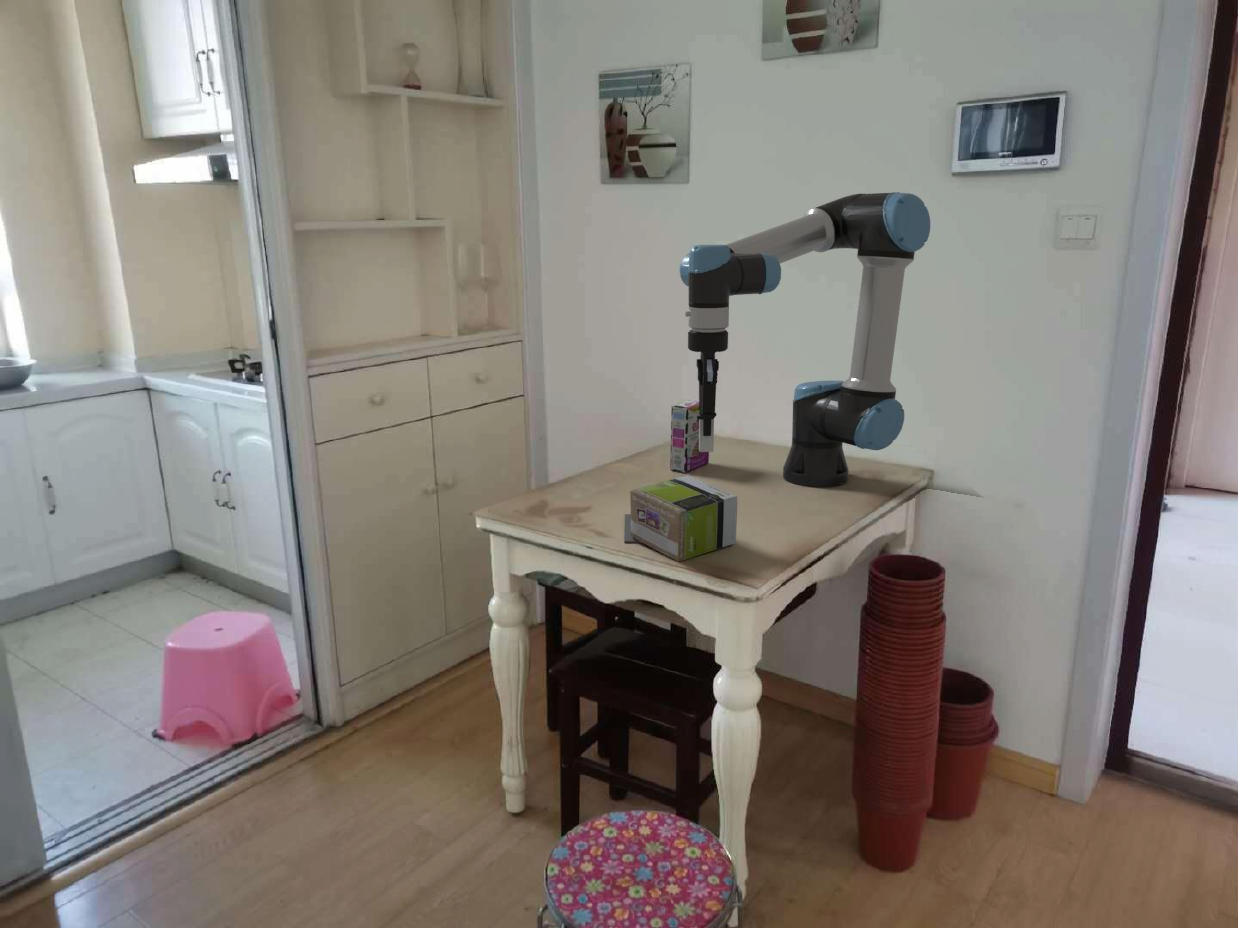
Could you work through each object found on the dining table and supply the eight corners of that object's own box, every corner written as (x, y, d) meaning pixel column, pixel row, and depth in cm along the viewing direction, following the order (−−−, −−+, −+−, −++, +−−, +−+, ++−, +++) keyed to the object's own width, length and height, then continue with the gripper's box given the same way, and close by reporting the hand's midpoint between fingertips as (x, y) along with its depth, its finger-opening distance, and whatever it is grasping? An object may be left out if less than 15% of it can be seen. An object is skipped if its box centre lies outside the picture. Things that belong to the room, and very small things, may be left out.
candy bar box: (687, 474, 220) (687, 407, 216) (669, 471, 223) (669, 405, 219) (710, 463, 229) (711, 399, 225) (693, 460, 232) (694, 397, 228)
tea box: (687, 520, 185) (628, 536, 177) (688, 473, 182) (628, 488, 174) (737, 544, 173) (676, 563, 165) (739, 495, 170) (677, 511, 162)
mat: (691, 515, 191) (691, 513, 190) (697, 542, 175) (697, 540, 175) (624, 515, 191) (624, 514, 191) (624, 542, 175) (624, 540, 175)
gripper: (686, 325, 177) (684, 442, 184) (690, 334, 165) (688, 459, 171) (724, 324, 177) (722, 442, 184) (731, 333, 165) (728, 459, 171)
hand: (706, 450), depth 177 cm, fingers closed
